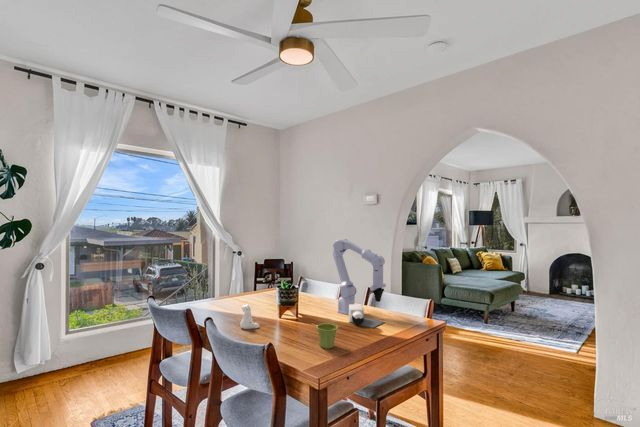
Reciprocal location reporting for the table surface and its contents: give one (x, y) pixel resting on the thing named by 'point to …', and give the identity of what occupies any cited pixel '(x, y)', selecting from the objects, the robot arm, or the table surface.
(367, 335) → the table surface
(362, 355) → the table surface
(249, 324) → the white creature statuette
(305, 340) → the table surface
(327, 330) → the plant pot
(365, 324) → the mat
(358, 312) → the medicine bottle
